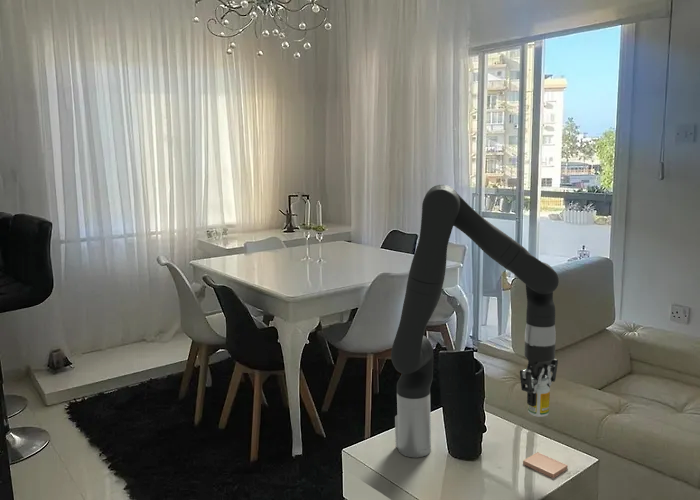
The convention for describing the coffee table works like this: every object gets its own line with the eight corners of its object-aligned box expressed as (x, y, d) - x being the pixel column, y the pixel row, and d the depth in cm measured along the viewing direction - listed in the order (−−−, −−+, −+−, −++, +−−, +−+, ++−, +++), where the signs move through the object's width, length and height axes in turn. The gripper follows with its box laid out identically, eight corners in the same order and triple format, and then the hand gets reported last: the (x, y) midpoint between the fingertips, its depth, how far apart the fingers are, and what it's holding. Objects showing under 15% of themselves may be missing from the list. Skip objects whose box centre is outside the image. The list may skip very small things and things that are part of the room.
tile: (523, 460, 154) (553, 474, 147) (537, 452, 157) (567, 465, 150) (523, 465, 154) (553, 479, 147) (537, 457, 158) (567, 470, 151)
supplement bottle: (527, 415, 150) (527, 381, 149) (528, 407, 155) (529, 373, 154) (549, 418, 149) (550, 383, 147) (549, 409, 153) (550, 375, 152)
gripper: (543, 330, 156) (541, 389, 159) (510, 343, 147) (509, 405, 150) (568, 337, 150) (566, 398, 153) (536, 350, 141) (534, 415, 144)
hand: (538, 401), depth 151 cm, fingers closed on supplement bottle, 5 cm apart
